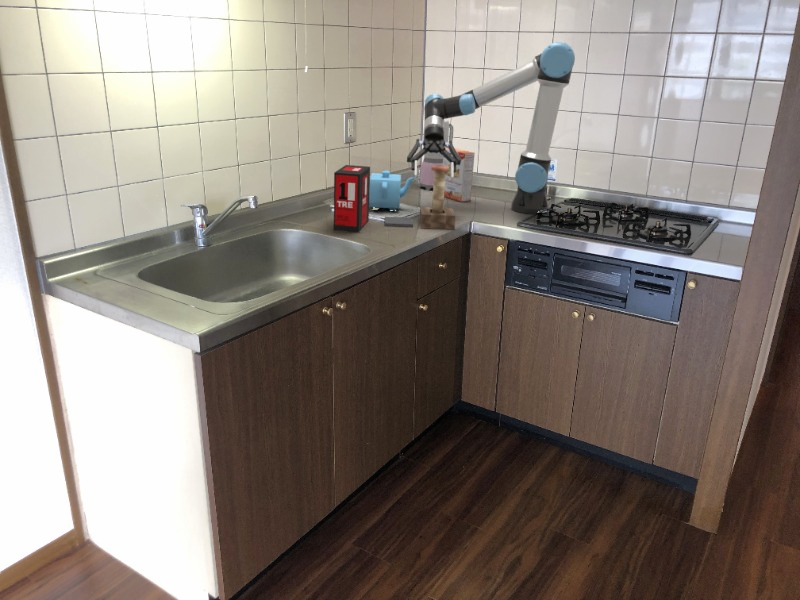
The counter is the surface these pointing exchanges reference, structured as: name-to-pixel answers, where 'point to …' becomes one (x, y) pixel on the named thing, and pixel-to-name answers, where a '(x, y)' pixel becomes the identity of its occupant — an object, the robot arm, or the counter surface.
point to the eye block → (437, 218)
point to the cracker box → (459, 177)
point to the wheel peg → (438, 187)
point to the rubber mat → (398, 221)
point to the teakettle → (387, 190)
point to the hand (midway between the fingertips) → (433, 178)
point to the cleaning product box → (351, 198)
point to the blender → (433, 160)
